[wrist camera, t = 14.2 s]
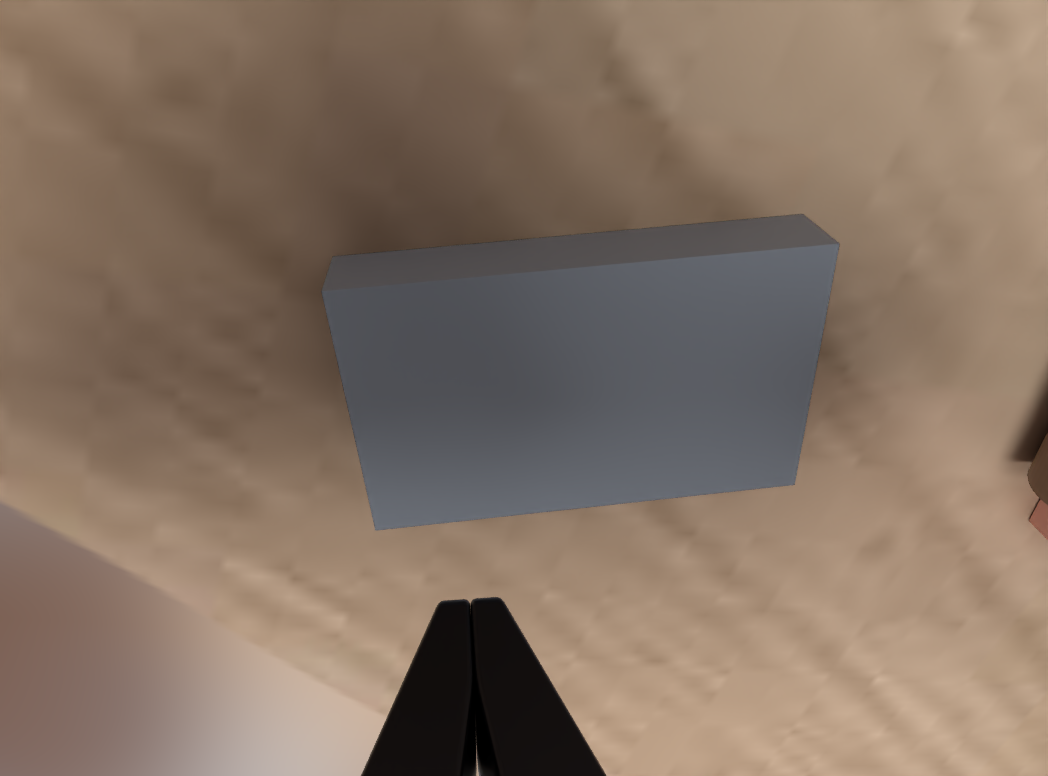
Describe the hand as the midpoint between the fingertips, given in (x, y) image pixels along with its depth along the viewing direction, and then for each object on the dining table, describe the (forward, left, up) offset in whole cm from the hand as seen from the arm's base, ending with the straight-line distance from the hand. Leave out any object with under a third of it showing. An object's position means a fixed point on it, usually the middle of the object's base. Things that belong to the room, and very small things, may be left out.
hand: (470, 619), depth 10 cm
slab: (-2, 0, -7) cm, 7 cm away
